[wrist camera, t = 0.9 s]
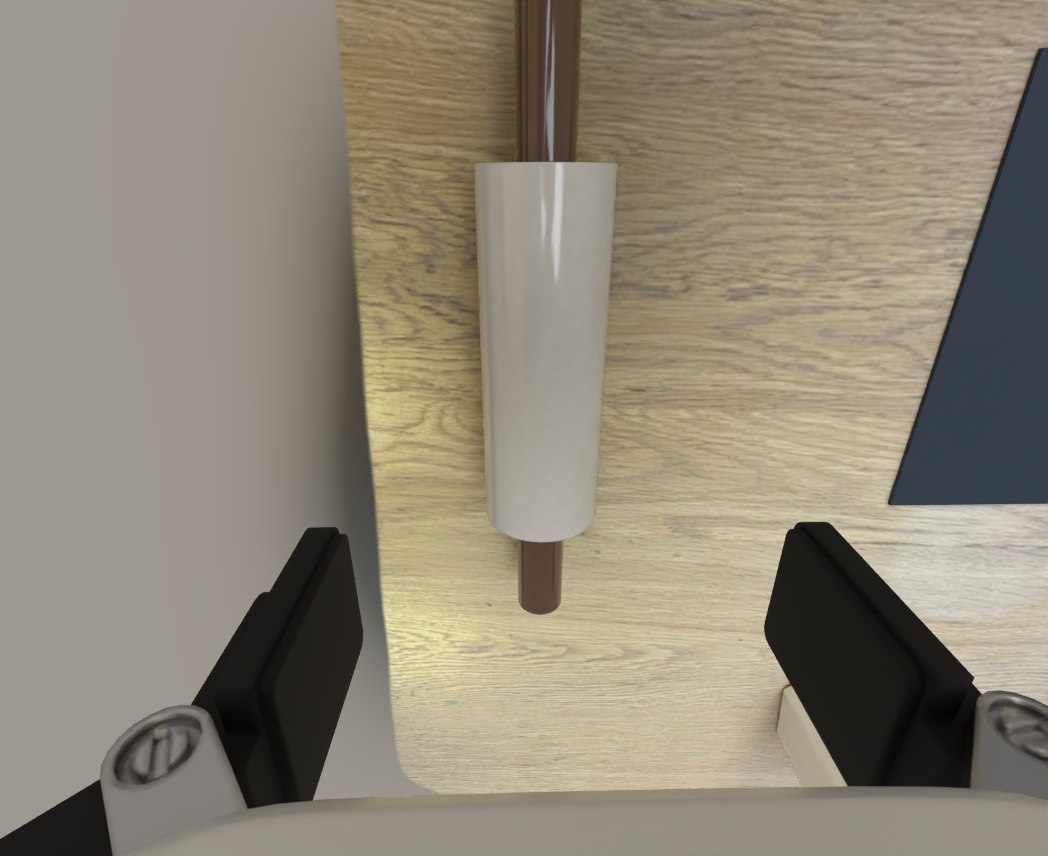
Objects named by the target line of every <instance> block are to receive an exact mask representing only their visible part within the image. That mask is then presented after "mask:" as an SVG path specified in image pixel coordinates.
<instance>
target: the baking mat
mask: <svg viewBox="0 0 1048 856" xmlns="http://www.w3.org/2000/svg"><path fill="white" fill-rule="evenodd" d="M1046 503H1048V48H1040V49H1039V51H1038V55H1037V58H1036V61H1035V64H1034V67H1033V70H1032V73H1031V76H1030V79H1029V82H1028V85H1027V88H1026V91H1025V94H1024V97H1023V100H1022V103H1021V106H1020V109H1019V112H1018V115H1017V118H1016V121H1015V124H1014V127H1013V130H1012V133H1011V136H1010V139H1009V142H1008V145H1007V148H1006V151H1005V154H1004V157H1003V160H1002V163H1001V166H1000V169H999V172H998V175H997V178H996V181H995V184H994V187H993V190H992V193H991V196H990V199H989V202H988V205H987V208H986V211H985V214H984V217H983V220H982V223H981V226H980V229H979V232H978V235H977V238H976V241H975V244H974V247H973V250H972V253H971V256H970V259H969V262H968V265H967V268H966V271H965V274H964V277H963V280H962V283H961V286H960V289H959V292H958V295H957V298H956V301H955V304H954V307H953V310H952V313H951V316H950V319H949V322H948V325H947V328H946V331H945V334H944V337H943V340H942V343H941V346H940V349H939V352H938V355H937V358H936V361H935V364H934V367H933V370H932V373H931V376H930V379H929V382H928V385H927V388H926V391H925V394H924V397H923V400H922V403H921V406H920V409H919V412H918V415H917V418H916V421H915V424H914V427H913V431H912V434H911V437H910V440H909V443H908V446H907V449H906V452H905V455H904V458H903V461H902V464H901V467H900V470H899V473H898V476H897V479H896V482H895V485H894V488H893V491H892V494H891V497H890V500H889V503H888V504H889V505H961V504H1046Z"/></svg>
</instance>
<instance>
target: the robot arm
mask: <svg viewBox="0 0 1048 856" xmlns="http://www.w3.org/2000/svg"><path fill="white" fill-rule="evenodd" d="M764 632H765V637H766V640H767V642H768V644H769V646H770V648H771V650H772V652H773V653H774V655H775V657H776V659H777V661H778V662H779V664H780V666H781V668H782V669H783V671H784V673H785V675H786V677H787V678H788V680H789V682H790V684H791V686H792V687H793V689H794V691H795V693H796V695H797V696H798V698H799V700H800V702H801V704H802V705H803V707H804V709H805V711H806V713H807V714H808V716H809V718H810V720H811V722H812V723H813V725H814V727H815V729H816V731H817V732H818V734H819V736H820V738H821V740H822V741H823V743H824V745H825V747H826V749H827V750H828V752H829V754H830V756H831V758H832V759H833V761H834V763H835V765H836V767H837V768H838V770H839V772H840V774H841V776H842V777H843V779H844V781H845V783H846V785H847V786H842V787H776V788H711V789H662V790H614V791H569V792H528V793H491V794H454V795H418V796H394V797H371V798H350V799H326V800H315V801H313V798H314V794H315V791H316V788H317V785H318V782H319V778H320V776H321V772H322V770H323V766H324V763H325V760H326V757H327V754H328V751H329V748H330V744H331V741H332V738H333V735H334V732H335V729H336V726H337V722H338V719H339V717H340V713H341V710H342V707H343V704H344V701H345V698H346V695H347V691H348V689H349V685H350V682H351V679H352V676H353V673H354V670H355V667H356V664H357V660H358V657H359V654H360V651H361V647H362V642H363V628H362V622H361V615H360V610H359V603H358V597H357V591H356V585H355V578H354V572H353V565H352V560H351V553H350V547H349V541H348V537H347V535H346V534H339V531H338V529H337V528H336V527H323V528H322V527H320V528H319V527H318V528H308V529H307V530H306V531H305V533H304V534H303V536H302V538H301V539H300V541H299V543H298V544H297V546H296V548H295V550H294V551H293V553H292V555H291V556H290V558H289V560H288V561H287V563H286V565H285V566H284V568H283V570H282V572H281V574H280V575H279V577H278V578H277V580H276V582H275V584H274V585H273V587H272V589H271V591H270V592H264V593H262V594H260V595H259V596H258V597H257V598H256V600H255V601H254V603H253V604H252V606H251V607H250V609H249V611H248V612H247V614H246V616H245V617H244V619H243V621H242V622H241V624H240V626H239V627H238V629H237V630H236V632H235V634H234V635H233V637H232V638H231V640H230V642H229V643H228V645H227V647H226V648H225V650H224V652H223V653H222V655H221V656H220V658H219V660H218V661H217V663H216V665H215V667H214V668H213V670H212V671H211V673H210V675H209V676H208V678H207V679H206V681H205V683H204V684H203V686H202V687H201V689H200V691H199V692H198V694H197V696H196V697H195V699H194V701H193V702H192V704H191V705H178V706H173V707H168V708H165V709H162V710H160V711H157V712H155V713H153V714H150V715H148V716H147V717H145V718H143V719H142V720H140V721H139V722H137V723H135V724H134V725H132V727H130V728H129V729H128V730H127V731H126V732H125V733H123V734H122V735H121V736H120V737H119V738H118V739H117V740H116V742H115V743H114V744H113V745H112V747H111V748H110V749H109V750H108V752H107V754H106V756H105V758H104V761H103V763H102V765H101V773H100V774H101V775H100V780H98V781H96V782H95V783H93V784H91V785H90V786H88V787H86V788H85V789H83V790H82V791H80V792H78V793H76V794H75V795H73V796H71V797H70V798H68V799H66V800H65V801H63V802H61V803H60V804H58V805H56V806H55V807H53V808H51V809H50V810H48V811H46V812H45V813H43V814H41V815H40V816H38V817H36V818H35V819H33V820H31V821H30V822H28V823H27V824H25V825H23V826H21V827H20V828H18V829H16V830H15V831H13V832H11V833H10V834H8V835H6V836H5V837H3V838H1V839H0V856H1048V706H1047V705H1045V704H1043V703H1041V702H1039V701H1036V700H1034V699H1032V698H1029V697H1026V696H1023V695H1020V694H1017V693H1013V692H1007V691H1001V690H998V691H988V692H986V693H984V694H981V693H980V692H979V690H978V689H977V688H976V687H975V686H974V685H973V684H972V682H973V679H974V677H973V676H972V675H971V674H970V673H969V672H968V671H967V669H966V668H965V667H964V666H963V665H962V664H961V663H960V662H959V661H958V660H957V659H956V658H955V657H954V656H953V654H952V653H951V652H950V651H949V650H948V649H947V648H946V647H945V646H944V645H943V644H942V643H941V642H940V641H939V639H938V638H937V637H936V636H935V635H934V634H933V633H932V632H931V631H930V630H929V629H928V628H927V627H926V626H925V624H924V623H923V622H922V621H921V620H920V619H919V618H918V617H917V616H916V615H915V614H914V613H913V612H912V611H911V609H910V608H909V607H908V606H907V605H906V604H905V603H904V602H903V601H902V600H901V599H900V598H899V597H898V596H897V594H896V593H895V592H894V591H893V590H892V589H891V588H890V587H889V586H888V585H887V584H886V583H885V582H884V581H883V579H882V578H881V577H880V576H879V575H878V574H877V573H876V572H875V571H874V570H873V569H872V568H871V567H870V566H869V564H868V563H867V562H866V561H865V560H864V559H863V558H862V557H861V556H860V555H859V554H858V553H857V552H856V551H855V550H854V548H853V547H852V546H851V545H850V544H849V543H848V542H847V541H846V540H845V539H844V538H843V537H842V536H841V535H840V533H839V532H838V531H837V530H836V529H835V528H834V527H833V526H832V525H831V524H830V523H828V522H799V523H797V524H796V525H795V527H794V529H790V530H789V531H788V532H787V534H786V538H785V542H784V546H783V550H782V554H781V558H780V562H779V566H778V570H777V575H776V579H775V583H774V587H773V591H772V595H771V599H770V603H769V607H768V612H767V616H766V620H765V625H764Z"/></svg>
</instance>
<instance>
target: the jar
mask: <svg viewBox="0 0 1048 856" xmlns="http://www.w3.org/2000/svg"><path fill="white" fill-rule="evenodd" d="M777 734H778V736H779V739H780V741H781V743H782V745H783V747H784V749H785V751H786V753H787V755H788V757H789V760H790V762H791V764H792V766H793V768H794V770H795V772H796V774H797V776H798V778H799V781H800V783H801V785H802V787H842V786H847V785H846V783H845V781H844V779H843V777H842V776H841V774H840V772H839V770H838V768H837V767H836V765H835V763H834V761H833V759H832V758H831V756H830V754H829V752H828V750H827V749H826V747H825V745H824V743H823V741H822V740H821V738H820V736H819V734H818V732H817V731H816V729H815V727H814V725H813V723H812V722H811V720H810V718H809V716H808V714H807V713H806V711H805V709H804V707H803V705H802V704H801V702H800V700H799V698H798V696H797V695H796V693H795V691H794V689H793V687H792V686H789V687H787V688H785V689H784V691H783V697H782V703H781V709H780V715H779V721H778V727H777Z"/></svg>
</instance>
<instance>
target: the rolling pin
mask: <svg viewBox="0 0 1048 856" xmlns="http://www.w3.org/2000/svg"><path fill="white" fill-rule="evenodd" d="M581 23H582V0H514V98H515V162H493V163H475V164H474V185H475V213H476V240H477V267H478V295H479V322H480V350H481V377H482V405H483V432H484V460H485V487H486V512H487V517H488V519H489V521H490V522H491V524H492V525H493V526H494V527H495V528H496V529H498V530H499V531H500V532H502V533H504V534H506V535H508V536H510V537H513V538H516V539H518V601H519V604H520V605H521V607H522V608H523V609H524V610H526V611H527V612H530V613H533V614H539V615H542V614H548V613H551V612H553V611H554V610H556V609H557V608H558V606H559V605H560V603H561V588H562V559H563V540H565V539H569V538H571V537H574V536H576V535H578V534H580V533H582V532H583V531H585V530H586V529H587V528H588V527H589V526H590V525H591V524H592V522H593V521H594V518H595V515H596V501H597V485H598V470H599V455H600V439H601V424H602V408H603V393H604V377H605V362H606V346H607V331H608V315H609V300H610V284H611V269H612V254H613V238H614V223H615V207H616V192H617V176H618V163H608V162H577V136H578V108H579V80H580V52H581Z"/></svg>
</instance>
